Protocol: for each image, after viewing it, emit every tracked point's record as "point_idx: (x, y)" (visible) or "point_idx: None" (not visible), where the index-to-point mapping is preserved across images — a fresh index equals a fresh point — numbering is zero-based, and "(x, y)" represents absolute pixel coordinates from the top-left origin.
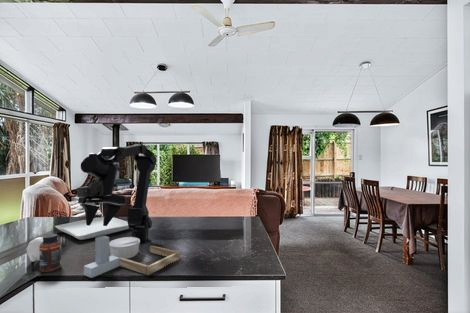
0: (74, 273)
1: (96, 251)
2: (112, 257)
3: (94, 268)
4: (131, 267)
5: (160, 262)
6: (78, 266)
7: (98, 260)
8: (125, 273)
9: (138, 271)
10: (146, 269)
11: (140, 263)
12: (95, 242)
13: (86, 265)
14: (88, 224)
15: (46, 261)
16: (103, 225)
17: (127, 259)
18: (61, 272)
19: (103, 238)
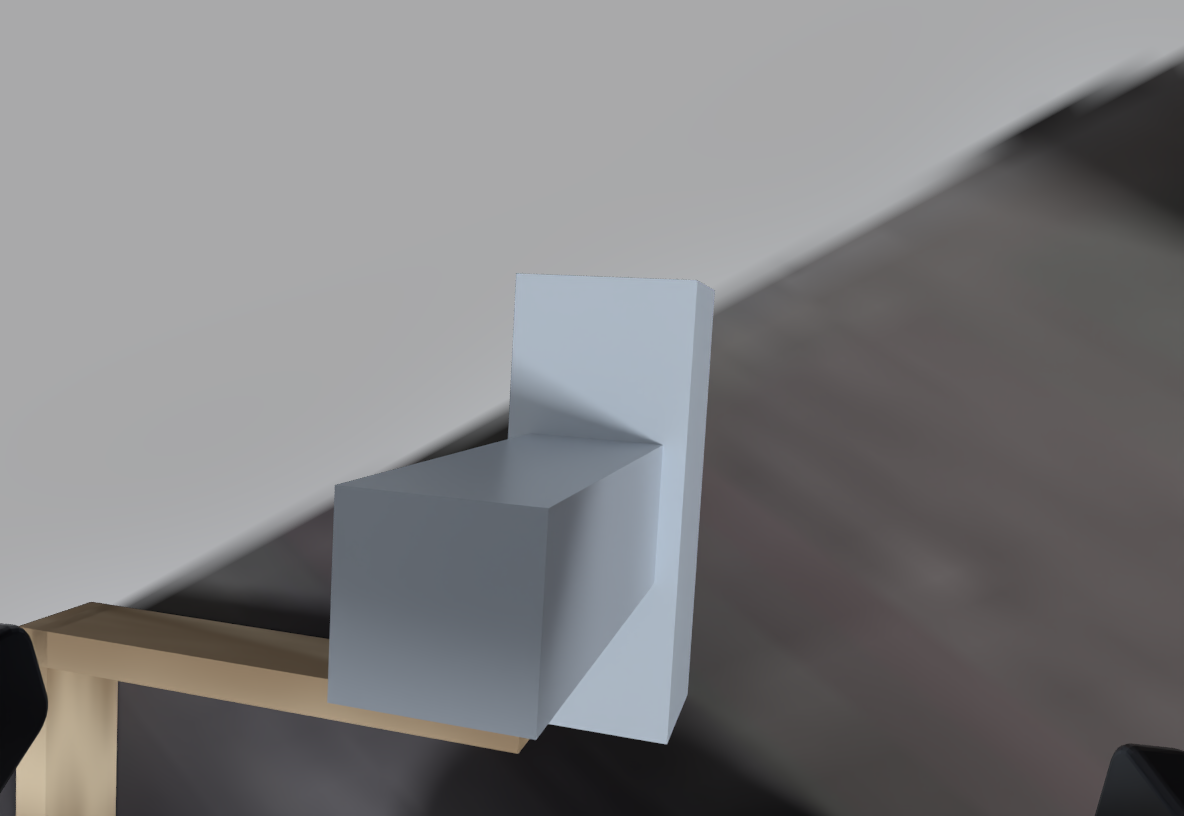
0: (879, 258)
1: (590, 464)
2: (591, 683)
3: (517, 319)
4: (306, 646)
5: (28, 810)
6: (1066, 432)
7: (570, 440)
8: (313, 540)
9: (214, 624)
10: (62, 620)
11: (157, 683)
12: (571, 490)
13: (674, 307)
14: (1118, 809)
15: None
16: (7, 627)
17: (382, 726)
18: (1100, 185)
19: (352, 569)
